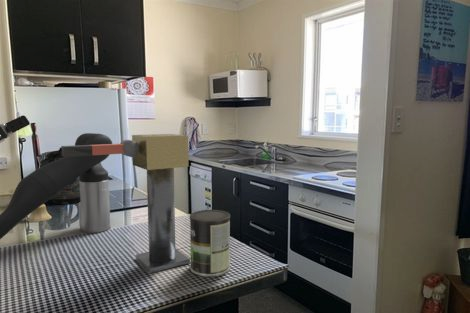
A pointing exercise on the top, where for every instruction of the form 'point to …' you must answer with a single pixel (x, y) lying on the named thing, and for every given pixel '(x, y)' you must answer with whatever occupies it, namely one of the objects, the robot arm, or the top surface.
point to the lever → (102, 149)
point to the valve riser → (161, 197)
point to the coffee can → (210, 242)
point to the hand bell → (39, 214)
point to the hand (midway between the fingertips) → (26, 119)
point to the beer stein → (69, 192)
